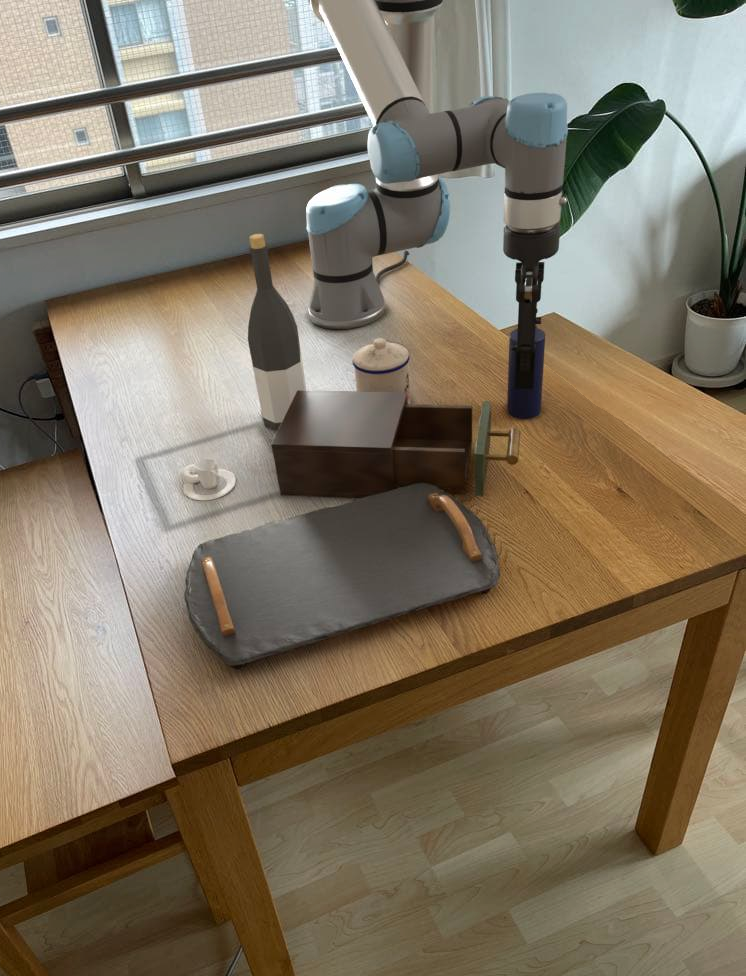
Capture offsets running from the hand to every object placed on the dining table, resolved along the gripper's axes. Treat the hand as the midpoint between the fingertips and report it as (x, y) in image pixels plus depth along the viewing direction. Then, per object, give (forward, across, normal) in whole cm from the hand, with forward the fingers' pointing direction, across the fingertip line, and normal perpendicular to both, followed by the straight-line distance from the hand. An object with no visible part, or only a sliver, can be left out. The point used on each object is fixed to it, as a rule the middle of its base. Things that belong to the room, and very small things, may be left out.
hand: (524, 376), depth 125 cm
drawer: (+5, -18, +10) cm, 21 cm away
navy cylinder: (+6, 0, 0) cm, 6 cm away
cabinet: (+6, -18, +25) cm, 31 cm away
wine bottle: (+6, -4, +38) cm, 39 cm away
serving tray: (+6, -42, +21) cm, 47 cm away
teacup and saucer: (+7, -20, +45) cm, 50 cm away
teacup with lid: (+6, +2, +23) cm, 24 cm away
